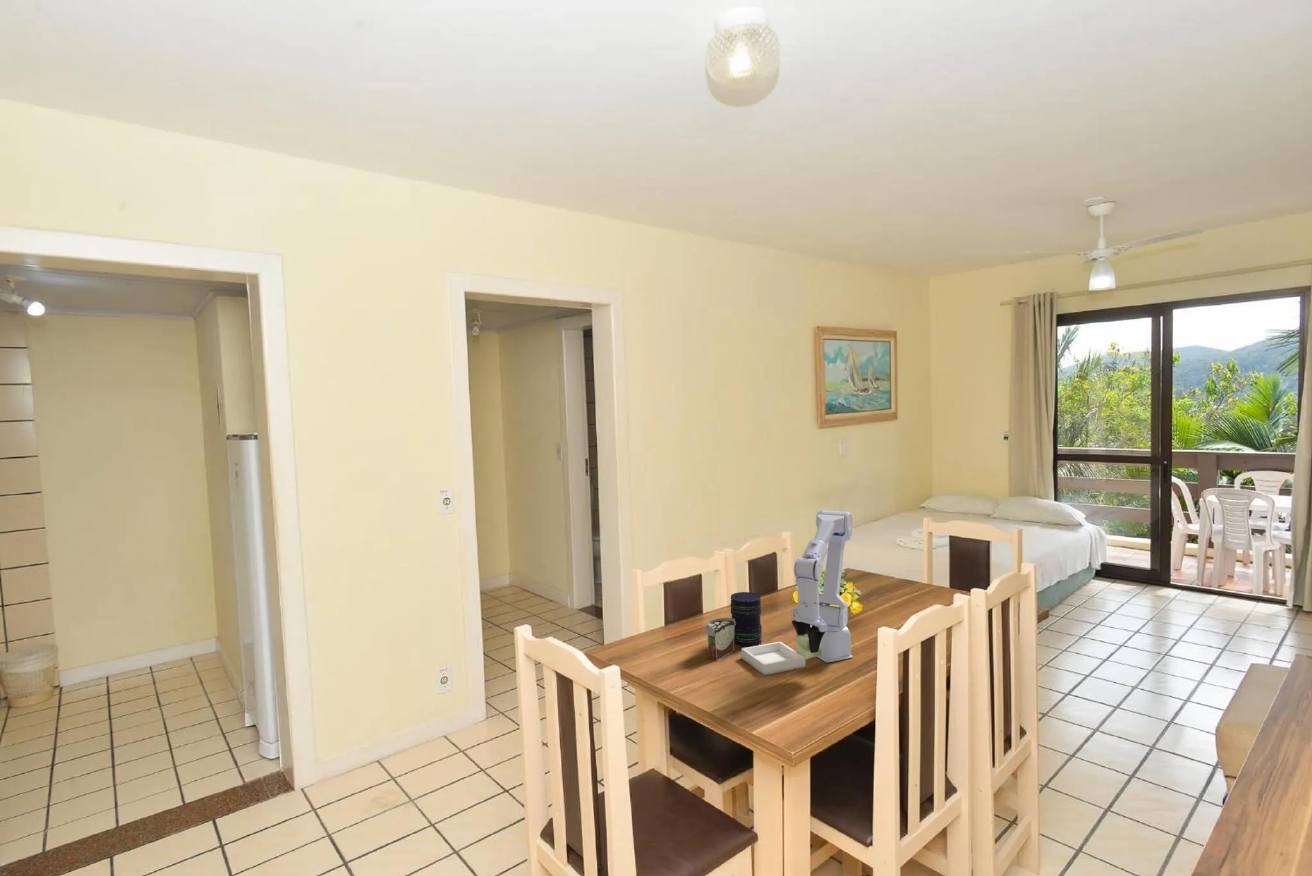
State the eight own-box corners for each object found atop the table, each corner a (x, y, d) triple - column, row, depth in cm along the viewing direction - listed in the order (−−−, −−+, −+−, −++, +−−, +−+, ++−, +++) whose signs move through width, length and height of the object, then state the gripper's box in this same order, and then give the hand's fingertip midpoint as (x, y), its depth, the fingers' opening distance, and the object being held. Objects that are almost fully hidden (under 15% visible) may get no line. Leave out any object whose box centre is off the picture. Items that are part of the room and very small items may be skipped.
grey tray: (780, 651, 201) (780, 641, 201) (805, 667, 189) (805, 657, 189) (741, 658, 197) (741, 648, 196) (764, 675, 184) (764, 665, 184)
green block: (811, 650, 184) (811, 632, 184) (821, 655, 180) (821, 638, 179) (796, 652, 182) (796, 635, 182) (806, 658, 178) (805, 640, 178)
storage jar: (761, 636, 214) (760, 592, 213) (763, 647, 204) (762, 601, 204) (730, 636, 215) (729, 591, 214) (731, 647, 205) (730, 601, 205)
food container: (719, 645, 207) (719, 614, 207) (736, 649, 203) (735, 618, 203) (697, 658, 198) (696, 625, 197) (714, 662, 194) (713, 629, 193)
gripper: (781, 595, 185) (782, 642, 186) (811, 610, 172) (812, 660, 173) (802, 592, 188) (803, 638, 189) (833, 606, 174) (834, 656, 175)
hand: (809, 648), depth 181 cm, fingers closed on green block, 4 cm apart
